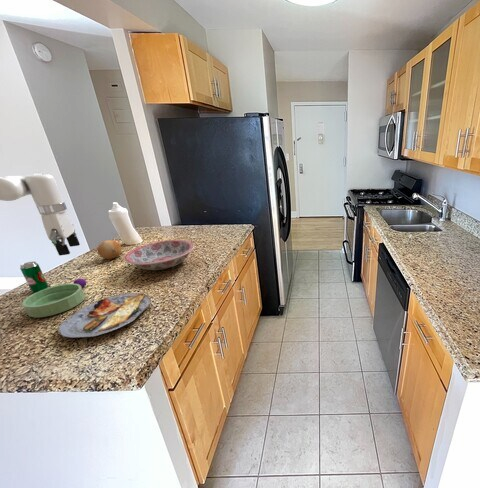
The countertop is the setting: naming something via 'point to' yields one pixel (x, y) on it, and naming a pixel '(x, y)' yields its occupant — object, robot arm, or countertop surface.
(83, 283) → the ball
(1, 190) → the robot arm
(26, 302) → the green bowl
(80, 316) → the food plate
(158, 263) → the ceramic bowl
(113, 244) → the onion
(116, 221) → the white squeeze bottle
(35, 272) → the soda can
